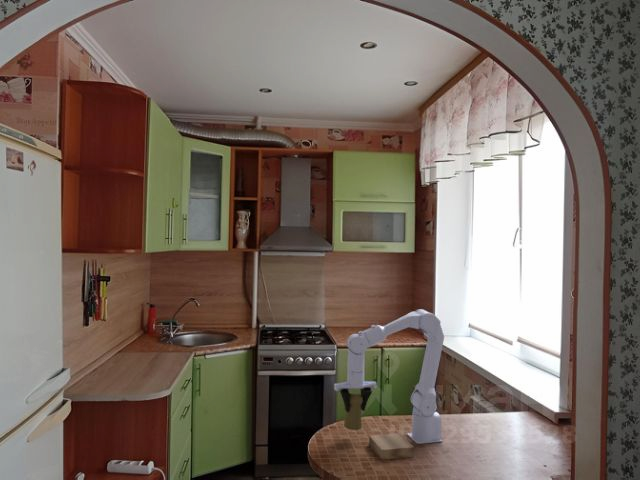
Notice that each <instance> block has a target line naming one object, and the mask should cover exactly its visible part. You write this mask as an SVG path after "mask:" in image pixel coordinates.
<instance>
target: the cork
mask: <svg viewBox="0 0 640 480" xmlns="http://www.w3.org/2000/svg"><path fill="white" fill-rule="evenodd" d="M362 402H363V397H362V395H361V393H359V392H358V393H357V392H351V393H350V399H349V412H346V414H345V419H344V423H343V426H344V427H345V428H346V429H348V430H352V431H357V430H358V431H359V430H361V429H362V409H361V404H362Z"/></svg>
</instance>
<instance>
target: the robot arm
mask: <svg viewBox="0 0 640 480" xmlns="http://www.w3.org/2000/svg"><path fill="white" fill-rule="evenodd" d="M408 328H411V329H416V330H419V329H420V330H421V331H422V332H423V333H422V334H424V335H425V337H426V338H427V340H426V345H425V351H424V354H423V355H424V357H423V360H422V366H421V372H420V375H419V382H417V384H416V385H415V386H414V387H415V388H414V390H413V392H412V394H411V395H410V402H411V404H412V406H413V408H412V417H411V418H412V419H411V420H412V421H411V422H412V423H411V432H408V433H407V436H408V437H409V438H410V439H411V440H412V441H413V442H415V443H416V444H418V445H419V444H430V443H440V442H441V443H442V442H443V440H442V419H441V416H440V414H439V412H438V411H437V407H438V406H437V401H436V398H437V393H436V389H435V385H436V381H437V376H438V370H439V364H440V360H441V357H442V351H443V347H444V346H443V345H444V340H445V334H444V332H443V329H442V325H441V320H440V319H439V317H437V316H436V315H435V314H434V313H432V312H429V311H427V310H425V309H422V308H421V309H416V310H415V311H410V312H409V313H407V314H405V315H403V316H401V317H399V318H397V319H396V320H393V321H391V322H389V323H387V324H385V325H379V324H376V325H375V324H372V325H371V326H370V327H369V328H367V329H365V330H360V331H358V333H352V334H350V335H349V336H348V337H347V339H346V341H345V344H346V346H347V348H348V349H347V375H346V378H347V379H346V381H344V382H339V383H333V385H334V386H333V389H334V391H335V392H339V393H340V395H341V397H342V400H343V405H344V410H345V412H346V413H347V412H349V399H350V394H351V393H350V391H349V390H360V395H362V397H363V402H362V404H361V412H364V411H366V407H367V403H368V400H369V399H370V397H371V395H372V394H373V393H372V392H373V391H372V389H374V390H375V389H377V384H378V383H377V382H376V381H369V380H368V381H366V380H365V362H366V361H365V358H366V357H365V352H366V350H367V349H369V348H371V347H373V346H375V345H378V344H380V343H382V342H385V341H386V339H387V337H388V336H389V335H391V334H394V333H397V332H400V331H403V330H404V329H408Z"/></svg>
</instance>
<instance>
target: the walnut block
mask: <svg viewBox="0 0 640 480" xmlns="http://www.w3.org/2000/svg"><path fill="white" fill-rule="evenodd" d="M368 446H370V448H371V449H372V450H373V451H374V452H375V454H376V455H377V456H378V457H379V459H380V460H391V459H393V460H395V459H400V458H401V459H403V458H412V457H413V458H414V457H415V446H414V445H413V444H412V443H411V442H409V440H408V439H406V437H404V435H402V434H401V432H398V433H388V434H387V433H386V434H375V435H368Z"/></svg>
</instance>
